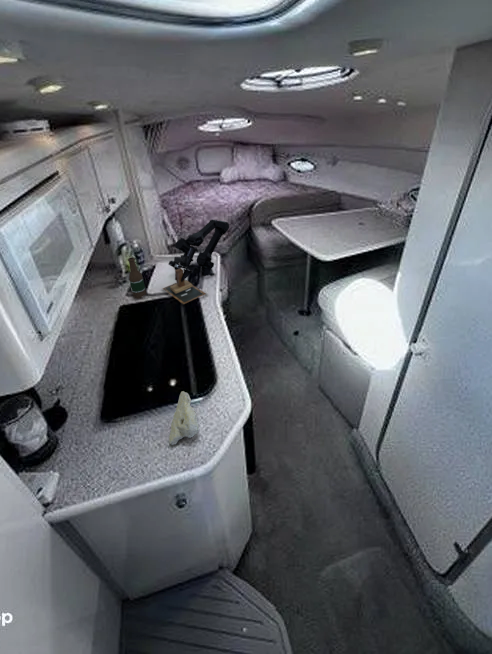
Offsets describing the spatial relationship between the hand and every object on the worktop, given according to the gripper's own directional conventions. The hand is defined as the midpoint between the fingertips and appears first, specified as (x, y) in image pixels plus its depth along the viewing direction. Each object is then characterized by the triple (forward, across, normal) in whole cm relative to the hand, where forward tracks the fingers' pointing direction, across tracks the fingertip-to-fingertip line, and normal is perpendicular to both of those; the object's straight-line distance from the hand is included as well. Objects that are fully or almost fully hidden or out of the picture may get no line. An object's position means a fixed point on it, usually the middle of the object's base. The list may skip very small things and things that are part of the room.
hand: (178, 280), depth 190 cm
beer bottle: (+15, -20, -3) cm, 25 cm away
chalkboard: (+5, +2, +6) cm, 8 cm away
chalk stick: (+3, +4, +7) cm, 8 cm away
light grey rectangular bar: (+6, +5, +3) cm, 9 cm away
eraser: (+4, 0, +6) cm, 7 cm away
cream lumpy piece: (+54, +59, -42) cm, 91 cm away
